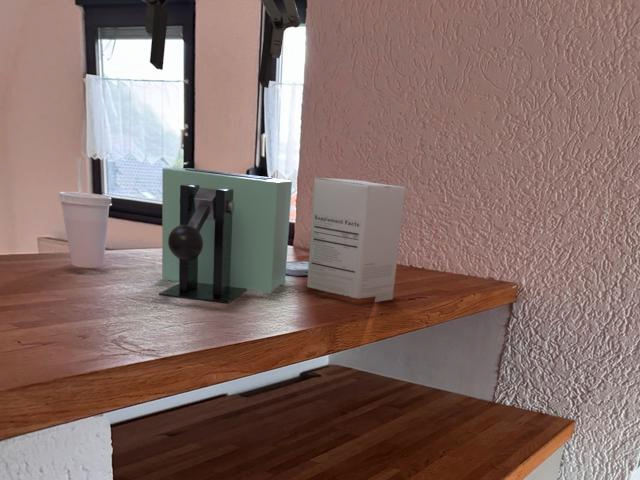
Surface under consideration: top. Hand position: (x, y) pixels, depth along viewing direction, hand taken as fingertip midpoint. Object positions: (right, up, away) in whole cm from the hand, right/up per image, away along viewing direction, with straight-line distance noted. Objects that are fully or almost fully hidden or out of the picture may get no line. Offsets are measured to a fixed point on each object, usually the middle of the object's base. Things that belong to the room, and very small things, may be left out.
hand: (209, 75), depth 91 cm
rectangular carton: (+17, -25, +10) cm, 32 cm away
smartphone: (+10, -17, +28) cm, 34 cm away
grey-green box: (+1, -25, +7) cm, 26 cm away
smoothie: (-17, -23, +5) cm, 29 cm away
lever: (+1, -23, -9) cm, 25 cm away
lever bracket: (0, -29, -3) cm, 29 cm away
